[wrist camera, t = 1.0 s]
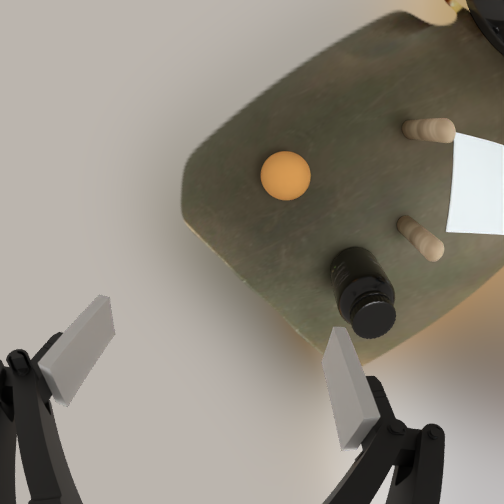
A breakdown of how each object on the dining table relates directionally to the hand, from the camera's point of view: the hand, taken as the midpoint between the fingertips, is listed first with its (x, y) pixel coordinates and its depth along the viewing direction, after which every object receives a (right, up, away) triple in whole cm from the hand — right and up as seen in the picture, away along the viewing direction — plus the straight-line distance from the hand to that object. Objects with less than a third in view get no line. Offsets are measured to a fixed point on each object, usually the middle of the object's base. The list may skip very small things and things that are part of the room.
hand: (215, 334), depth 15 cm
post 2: (+22, +8, +18) cm, 30 cm away
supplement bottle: (+16, +2, +21) cm, 27 cm away
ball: (+6, +13, +15) cm, 21 cm away
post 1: (+22, +20, +13) cm, 32 cm away
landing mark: (+36, +14, +14) cm, 41 cm away
